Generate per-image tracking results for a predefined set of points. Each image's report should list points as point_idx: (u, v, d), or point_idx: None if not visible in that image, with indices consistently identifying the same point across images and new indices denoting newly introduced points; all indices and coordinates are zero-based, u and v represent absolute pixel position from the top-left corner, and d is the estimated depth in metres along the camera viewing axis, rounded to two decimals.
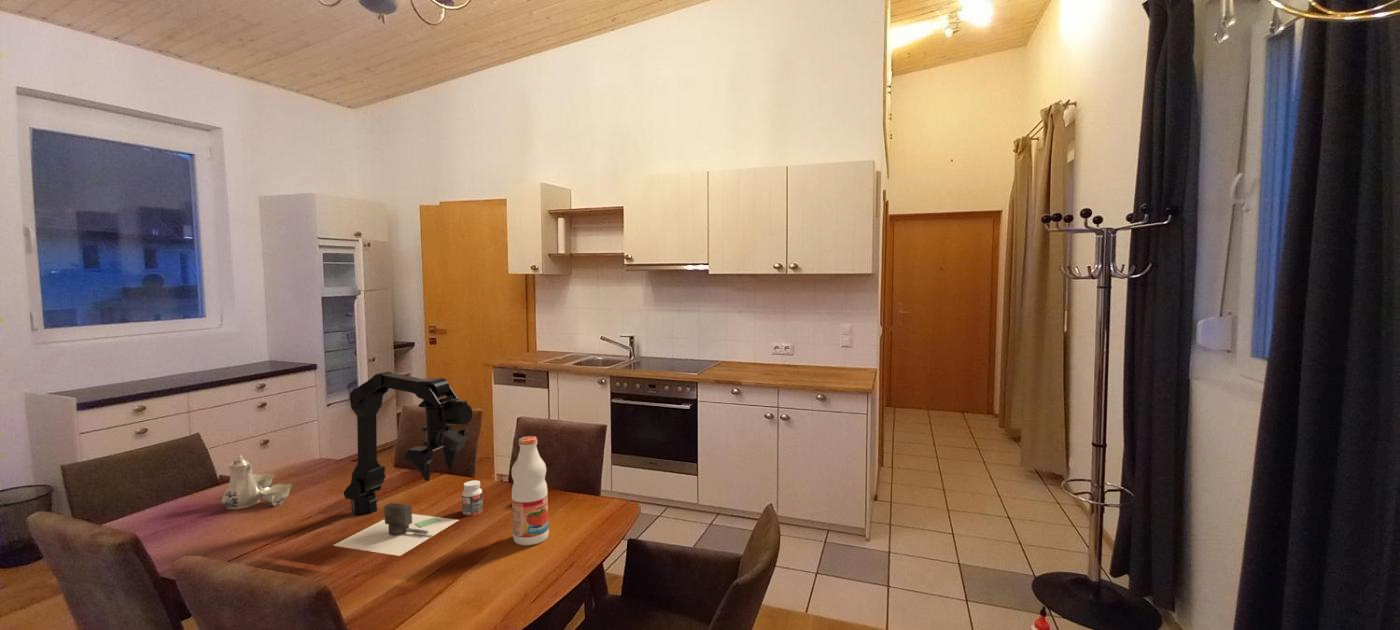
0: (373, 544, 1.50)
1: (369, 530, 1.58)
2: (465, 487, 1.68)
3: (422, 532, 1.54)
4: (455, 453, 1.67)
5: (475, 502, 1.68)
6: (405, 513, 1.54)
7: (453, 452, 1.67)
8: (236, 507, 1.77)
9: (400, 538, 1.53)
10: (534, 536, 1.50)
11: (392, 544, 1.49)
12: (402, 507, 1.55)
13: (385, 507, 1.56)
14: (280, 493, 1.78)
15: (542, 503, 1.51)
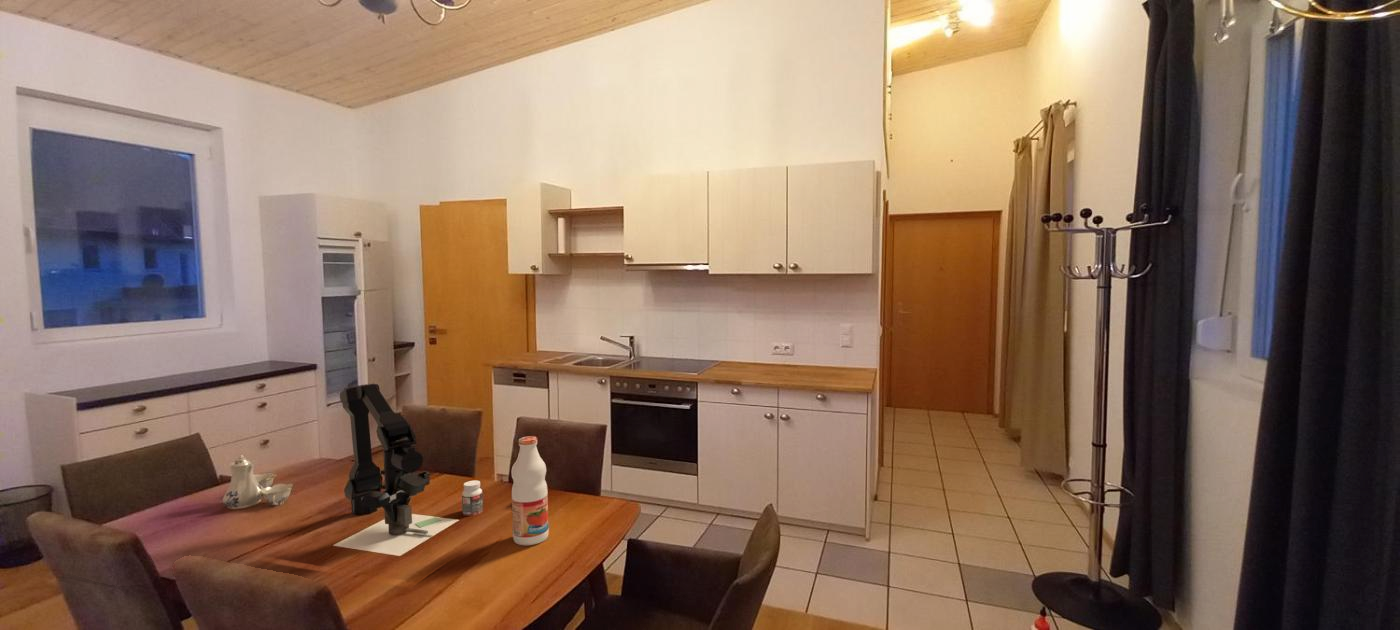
0: (373, 544, 1.50)
1: (369, 530, 1.58)
2: (465, 487, 1.68)
3: (422, 532, 1.54)
4: (408, 500, 1.58)
5: (475, 502, 1.68)
6: (405, 513, 1.54)
7: (405, 499, 1.58)
8: (237, 507, 1.77)
9: (400, 538, 1.53)
10: (534, 536, 1.50)
11: (392, 544, 1.49)
12: (402, 507, 1.55)
13: None
14: (281, 493, 1.78)
15: (542, 503, 1.51)
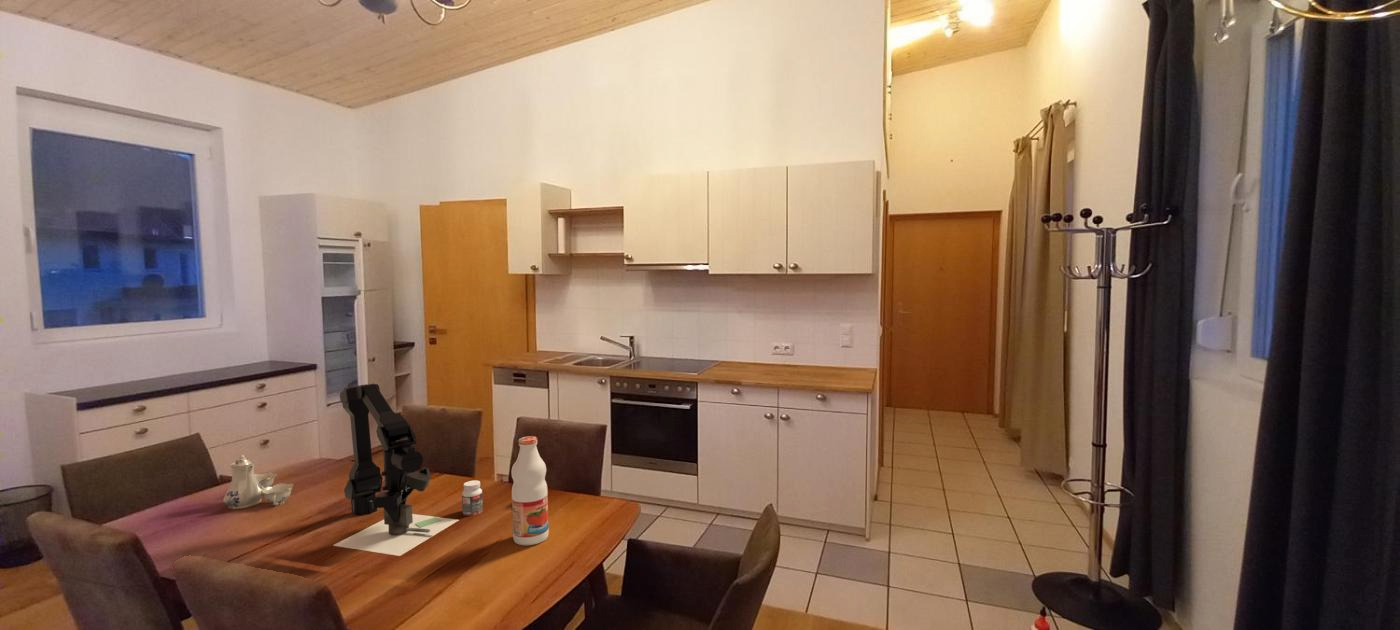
0: (373, 544, 1.50)
1: (369, 530, 1.58)
2: (465, 487, 1.68)
3: (424, 531, 1.55)
4: (406, 498, 1.59)
5: (475, 502, 1.68)
6: (406, 513, 1.55)
7: (404, 497, 1.58)
8: (238, 506, 1.77)
9: (400, 538, 1.53)
10: (534, 536, 1.50)
11: (392, 544, 1.49)
12: (403, 507, 1.55)
13: None
14: (282, 493, 1.78)
15: (542, 503, 1.51)
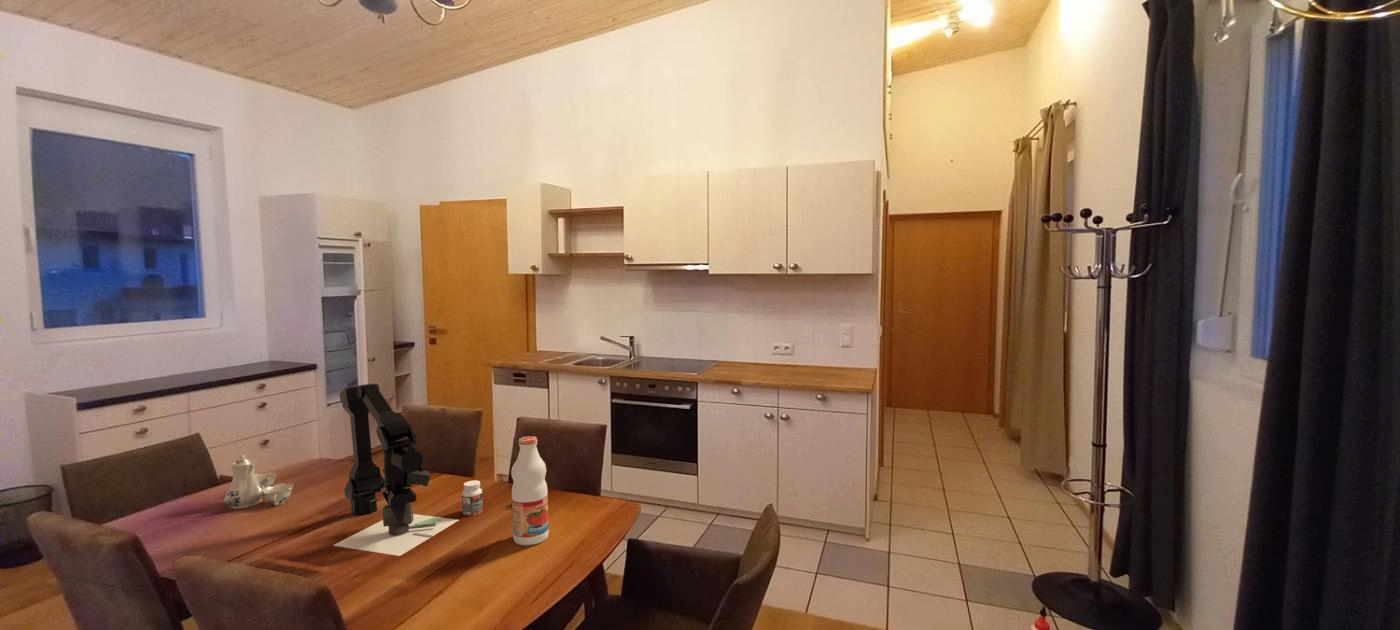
0: (373, 544, 1.50)
1: (369, 530, 1.58)
2: (465, 487, 1.68)
3: (431, 525, 1.58)
4: None
5: (475, 502, 1.68)
6: (410, 511, 1.56)
7: None
8: (238, 506, 1.77)
9: (400, 538, 1.53)
10: (534, 536, 1.50)
11: (392, 544, 1.49)
12: None
13: (384, 509, 1.54)
14: (282, 492, 1.78)
15: (542, 503, 1.51)
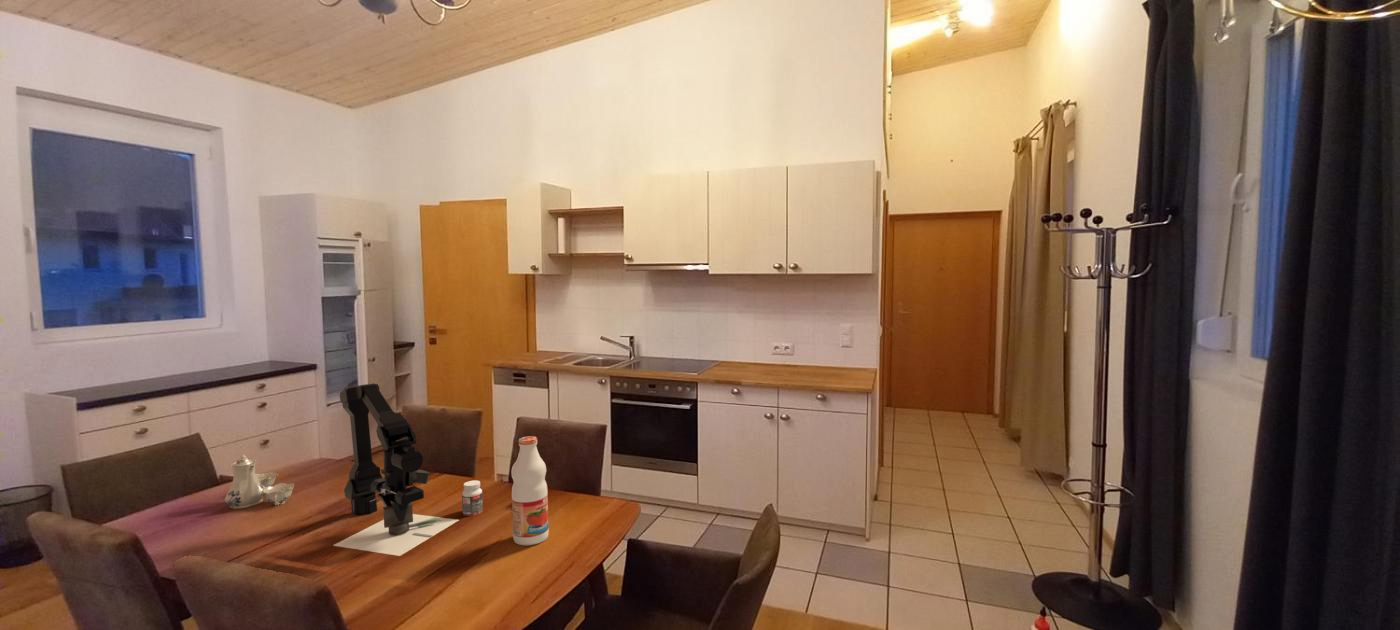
0: (373, 544, 1.50)
1: (369, 530, 1.58)
2: (465, 487, 1.68)
3: (432, 521, 1.61)
4: None
5: (475, 502, 1.68)
6: None
7: None
8: (239, 506, 1.77)
9: (400, 538, 1.53)
10: (534, 536, 1.50)
11: (392, 544, 1.49)
12: None
13: (385, 510, 1.54)
14: (283, 492, 1.78)
15: (542, 503, 1.51)
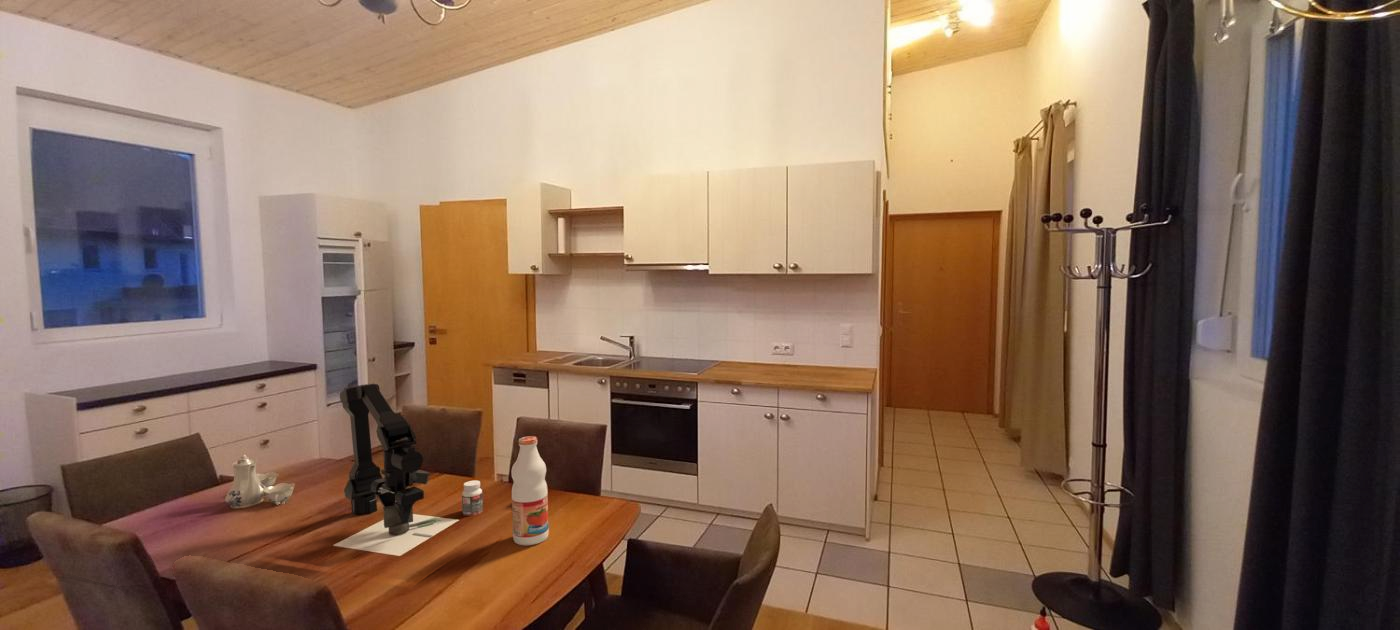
0: (373, 544, 1.50)
1: (369, 530, 1.58)
2: (465, 487, 1.68)
3: (431, 521, 1.61)
4: None
5: (475, 502, 1.68)
6: (412, 509, 1.58)
7: (394, 496, 1.60)
8: (240, 506, 1.77)
9: (400, 538, 1.53)
10: (534, 536, 1.50)
11: (392, 544, 1.49)
12: None
13: (385, 511, 1.54)
14: (283, 492, 1.79)
15: (542, 503, 1.51)
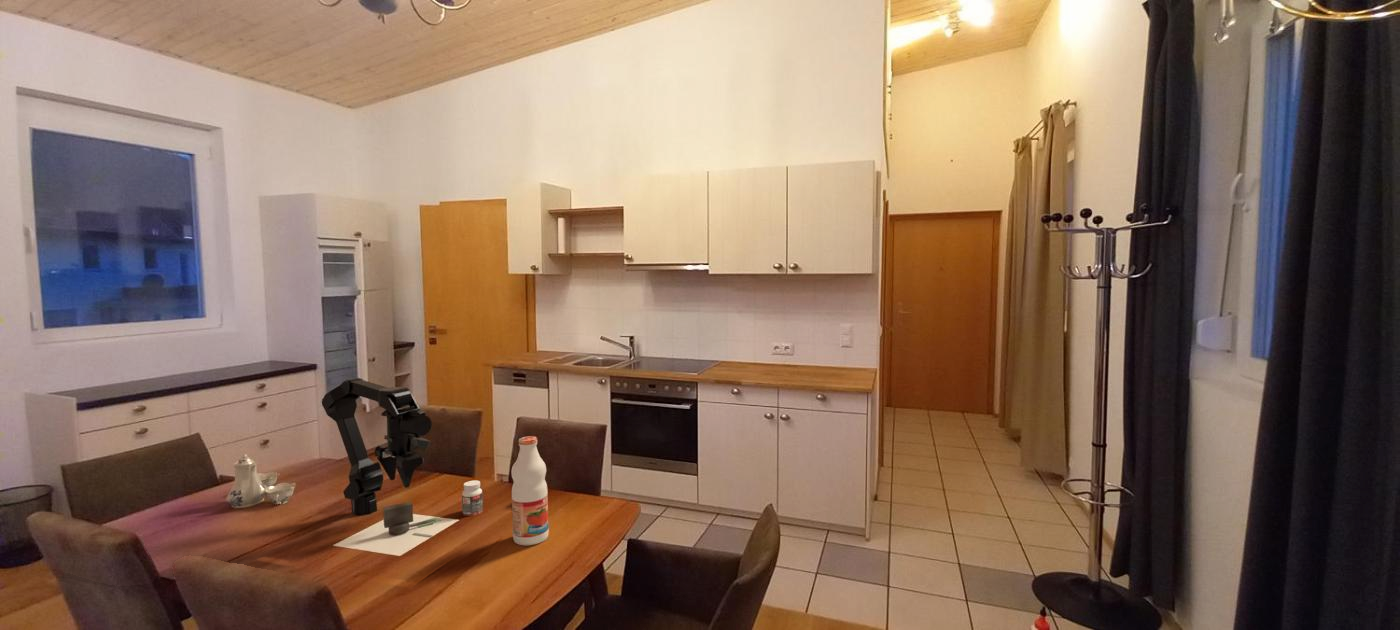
0: (373, 544, 1.50)
1: (369, 530, 1.58)
2: (465, 487, 1.68)
3: (431, 521, 1.61)
4: None
5: (475, 502, 1.68)
6: (412, 509, 1.58)
7: (395, 461, 1.68)
8: (241, 506, 1.78)
9: (400, 538, 1.53)
10: (534, 536, 1.50)
11: (392, 544, 1.49)
12: (406, 504, 1.57)
13: (385, 511, 1.54)
14: (284, 492, 1.79)
15: (542, 503, 1.51)
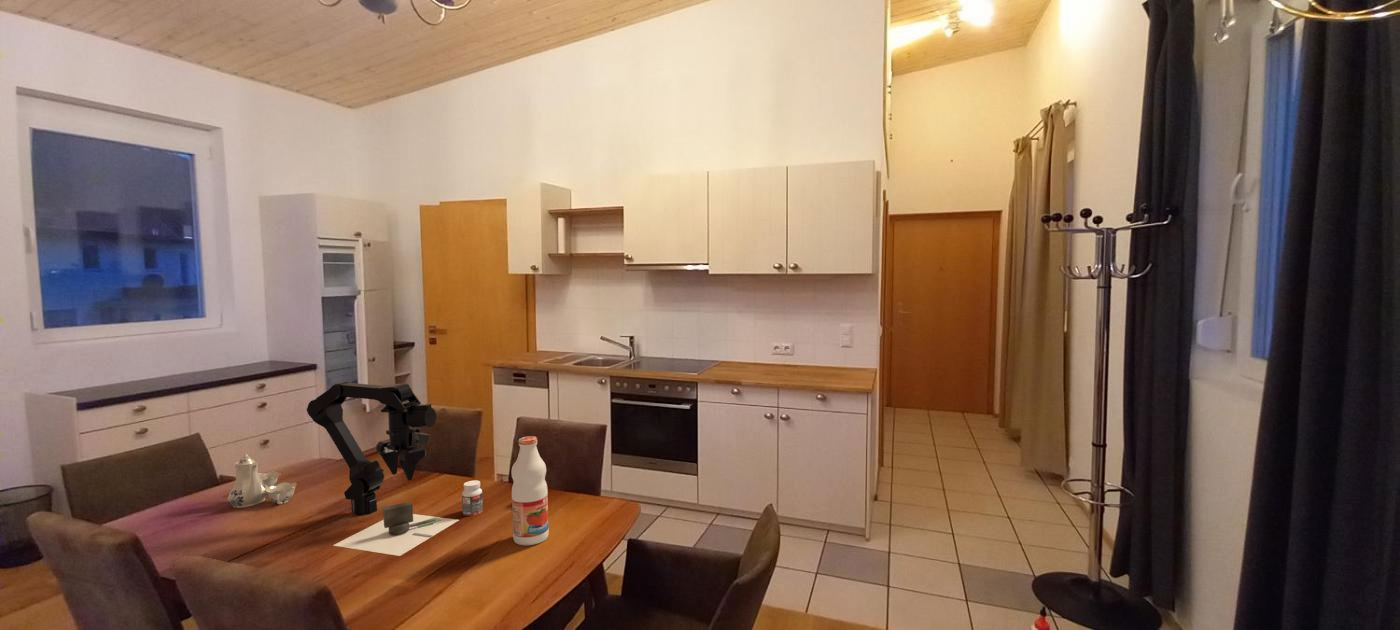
0: (373, 544, 1.50)
1: (369, 530, 1.58)
2: (465, 487, 1.68)
3: (431, 521, 1.61)
4: None
5: (475, 502, 1.68)
6: (412, 509, 1.58)
7: (397, 456, 1.73)
8: (242, 505, 1.78)
9: (400, 538, 1.53)
10: (534, 536, 1.50)
11: (392, 544, 1.49)
12: (406, 504, 1.57)
13: (385, 511, 1.54)
14: (285, 492, 1.79)
15: (542, 503, 1.51)
